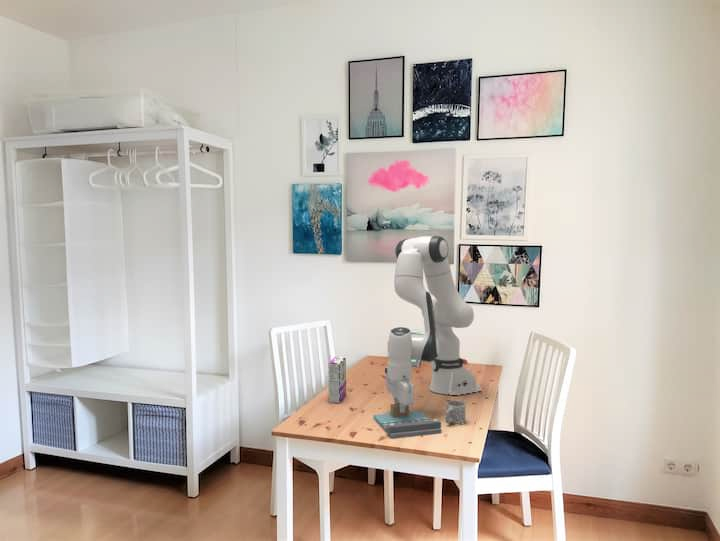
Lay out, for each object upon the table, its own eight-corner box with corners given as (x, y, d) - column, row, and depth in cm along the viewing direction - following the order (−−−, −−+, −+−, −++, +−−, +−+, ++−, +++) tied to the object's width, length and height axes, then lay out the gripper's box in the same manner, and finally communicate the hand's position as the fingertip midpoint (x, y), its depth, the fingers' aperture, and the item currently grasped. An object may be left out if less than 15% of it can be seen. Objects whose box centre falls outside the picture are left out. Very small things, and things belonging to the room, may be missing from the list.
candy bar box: (334, 394, 224) (334, 356, 223) (346, 395, 223) (346, 356, 222) (327, 403, 213) (328, 362, 212) (340, 403, 212) (340, 363, 211)
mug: (452, 416, 198) (452, 399, 198) (468, 421, 194) (468, 403, 194) (438, 424, 191) (438, 406, 190) (454, 428, 186) (454, 410, 186)
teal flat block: (419, 413, 201) (419, 400, 201) (428, 421, 192) (428, 407, 192) (373, 418, 196) (373, 404, 196) (381, 426, 187) (381, 412, 187)
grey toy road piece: (430, 422, 192) (430, 412, 192) (442, 432, 182) (442, 421, 182) (380, 427, 187) (380, 417, 186) (389, 438, 177) (390, 427, 177)
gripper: (419, 379, 185) (418, 418, 186) (398, 365, 205) (398, 400, 206) (401, 381, 184) (401, 420, 185) (382, 366, 203) (382, 402, 204)
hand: (399, 410), depth 195 cm, fingers closed on teal flat block, 3 cm apart
